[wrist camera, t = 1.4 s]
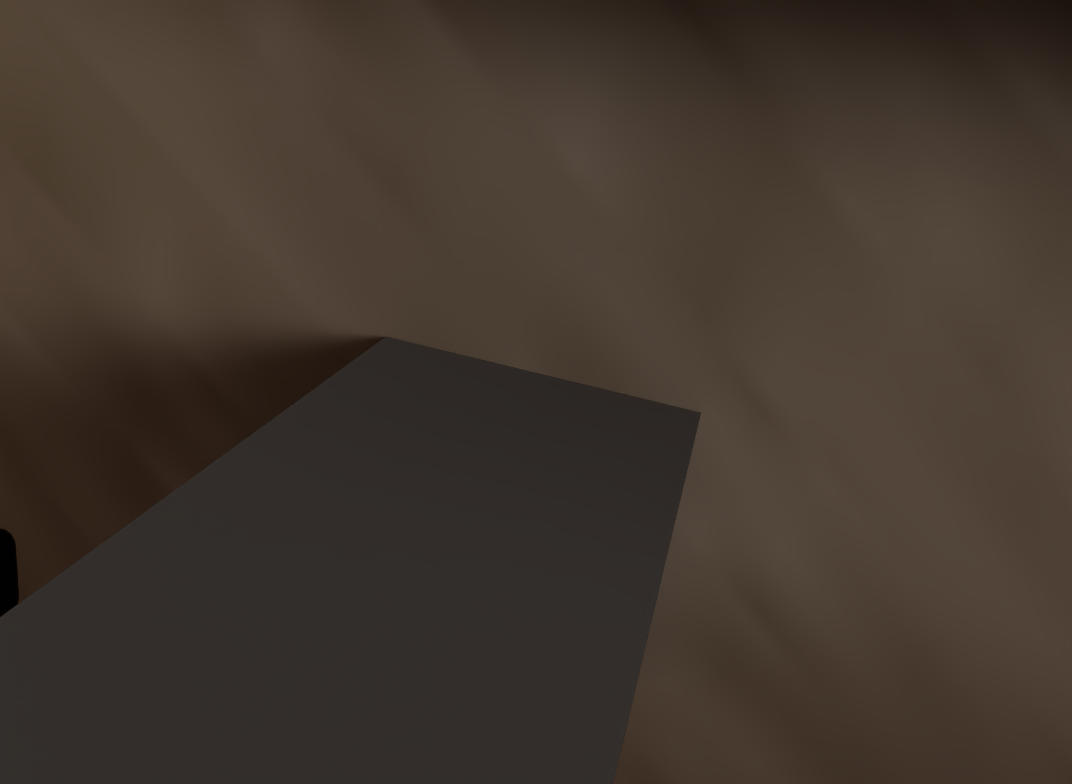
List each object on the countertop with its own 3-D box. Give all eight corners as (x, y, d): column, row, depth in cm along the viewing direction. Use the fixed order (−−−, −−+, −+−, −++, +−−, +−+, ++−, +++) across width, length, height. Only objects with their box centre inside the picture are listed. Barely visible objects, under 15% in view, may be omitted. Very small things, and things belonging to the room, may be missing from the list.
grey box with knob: (700, 413, 11) (455, 1445, 3) (634, 681, 13) (349, 1855, 4) (385, 336, 12) (-531, 1003, 4) (358, 601, 13) (-330, 1491, 5)
